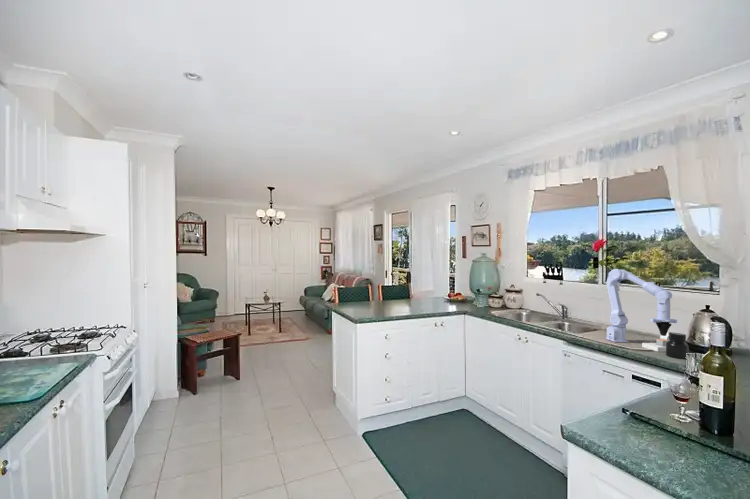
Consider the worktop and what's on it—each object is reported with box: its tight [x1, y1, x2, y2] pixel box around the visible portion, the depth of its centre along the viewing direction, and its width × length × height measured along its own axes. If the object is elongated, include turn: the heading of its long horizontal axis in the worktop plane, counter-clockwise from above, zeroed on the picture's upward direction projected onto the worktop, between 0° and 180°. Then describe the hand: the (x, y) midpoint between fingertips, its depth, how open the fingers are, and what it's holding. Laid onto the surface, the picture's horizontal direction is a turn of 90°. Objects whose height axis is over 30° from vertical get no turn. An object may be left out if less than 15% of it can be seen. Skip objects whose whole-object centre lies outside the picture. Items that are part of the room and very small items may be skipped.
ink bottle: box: [665, 332, 690, 360], centre depth 180 cm, size 10×9×12 cm
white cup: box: [659, 331, 670, 341], centre depth 208 cm, size 8×8×10 cm
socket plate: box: [641, 342, 666, 353], centre depth 195 cm, size 16×10×3 cm, turn 95°
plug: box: [655, 338, 669, 347], centre depth 196 cm, size 4×4×5 cm
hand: (663, 335), depth 196 cm, fingers closed
